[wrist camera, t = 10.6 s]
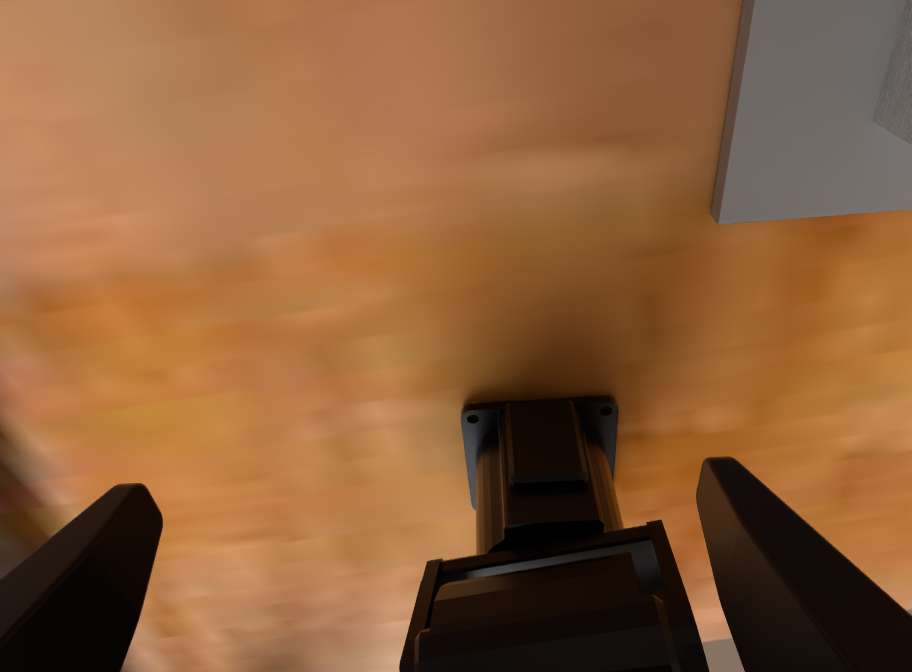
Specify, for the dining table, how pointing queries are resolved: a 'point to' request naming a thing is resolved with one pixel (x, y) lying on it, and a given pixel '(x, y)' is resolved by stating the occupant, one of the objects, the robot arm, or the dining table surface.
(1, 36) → the dining table surface
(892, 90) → the white hollow frame
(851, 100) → the slate board
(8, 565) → the dining table surface
